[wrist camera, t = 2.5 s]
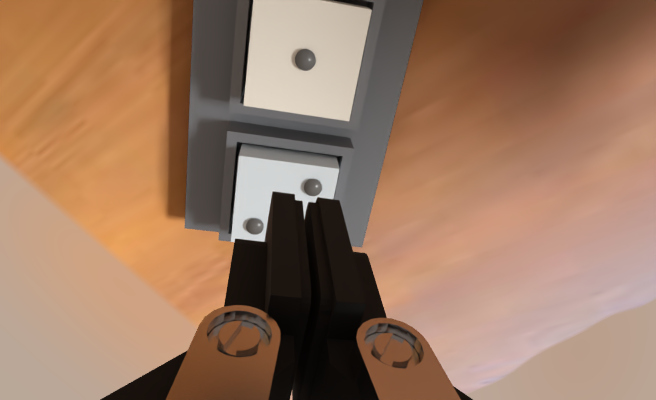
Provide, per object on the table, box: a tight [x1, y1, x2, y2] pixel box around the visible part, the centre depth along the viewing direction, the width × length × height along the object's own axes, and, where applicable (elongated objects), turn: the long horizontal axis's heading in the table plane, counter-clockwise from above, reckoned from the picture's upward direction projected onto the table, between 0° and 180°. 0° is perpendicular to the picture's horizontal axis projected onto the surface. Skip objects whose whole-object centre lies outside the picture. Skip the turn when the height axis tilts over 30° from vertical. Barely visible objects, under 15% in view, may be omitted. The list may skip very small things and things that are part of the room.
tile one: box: [244, 0, 372, 121], centre depth 25 cm, size 6×6×2 cm
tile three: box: [231, 144, 339, 242], centre depth 29 cm, size 6×6×2 cm
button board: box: [185, 0, 423, 247], centre depth 27 cm, size 13×27×4 cm, turn 170°
